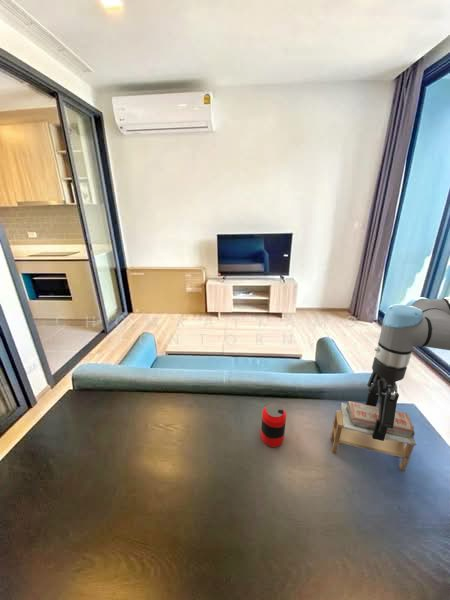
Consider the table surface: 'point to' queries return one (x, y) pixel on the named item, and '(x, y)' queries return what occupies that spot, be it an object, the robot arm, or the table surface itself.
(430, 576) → the table surface
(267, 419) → the soda can
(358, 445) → the rack
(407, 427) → the packaged product
